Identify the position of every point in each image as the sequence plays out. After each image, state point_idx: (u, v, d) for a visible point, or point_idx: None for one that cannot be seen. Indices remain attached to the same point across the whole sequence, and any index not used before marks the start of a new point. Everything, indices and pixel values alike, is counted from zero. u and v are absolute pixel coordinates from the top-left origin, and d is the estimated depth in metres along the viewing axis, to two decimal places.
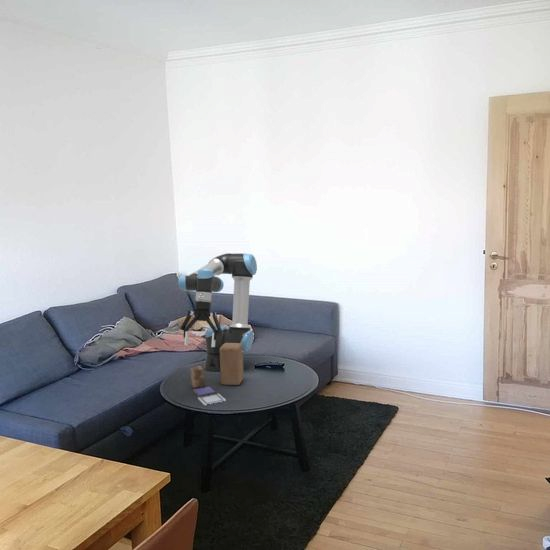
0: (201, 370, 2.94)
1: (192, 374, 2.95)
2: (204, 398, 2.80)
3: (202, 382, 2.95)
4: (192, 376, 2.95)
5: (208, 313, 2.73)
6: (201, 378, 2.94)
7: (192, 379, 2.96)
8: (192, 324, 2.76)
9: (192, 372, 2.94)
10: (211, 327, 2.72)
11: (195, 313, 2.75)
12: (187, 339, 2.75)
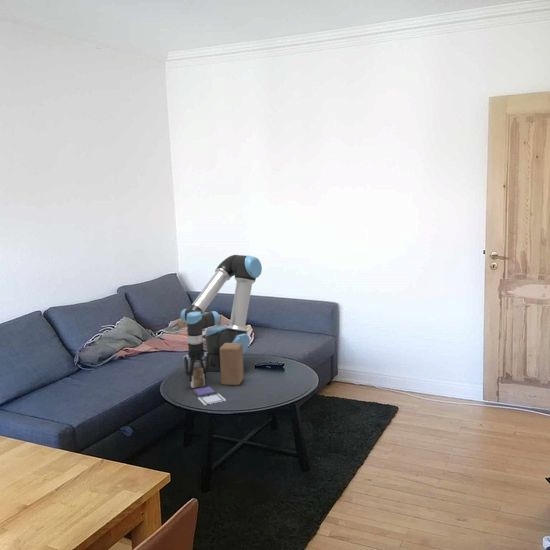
0: (201, 370, 2.94)
1: (192, 374, 2.95)
2: (204, 398, 2.80)
3: (202, 382, 2.95)
4: None
5: (203, 353, 2.95)
6: (201, 378, 2.94)
7: None
8: None
9: (192, 372, 2.94)
10: (202, 367, 2.95)
11: (191, 355, 2.92)
12: None
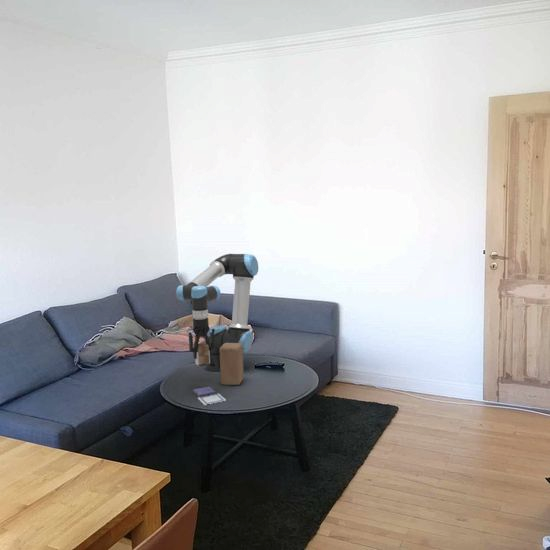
0: (206, 347, 2.82)
1: (197, 351, 2.83)
2: (204, 398, 2.80)
3: (207, 359, 2.84)
4: None
5: (208, 328, 2.83)
6: (206, 355, 2.83)
7: None
8: (197, 342, 2.83)
9: (197, 349, 2.83)
10: None
11: (196, 331, 2.80)
12: None
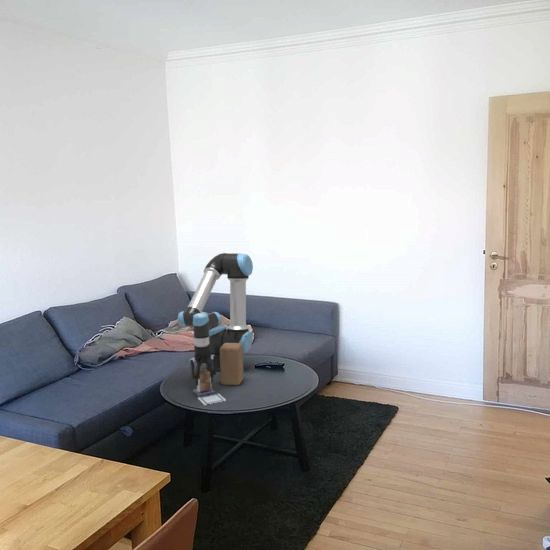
0: (208, 373, 2.85)
1: (198, 377, 2.86)
2: (204, 398, 2.80)
3: (209, 386, 2.86)
4: None
5: (210, 355, 2.86)
6: (207, 382, 2.85)
7: None
8: None
9: None
10: (209, 370, 2.86)
11: (197, 358, 2.83)
12: None
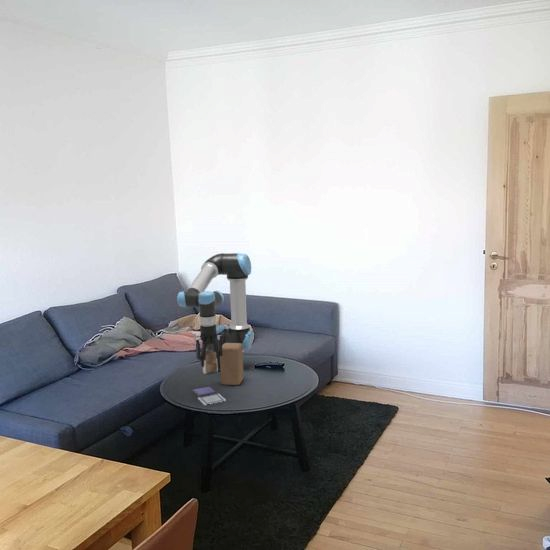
0: (214, 354, 2.73)
1: (204, 358, 2.74)
2: (204, 398, 2.80)
3: (215, 367, 2.74)
4: None
5: (216, 335, 2.74)
6: (214, 363, 2.74)
7: None
8: None
9: None
10: (215, 351, 2.75)
11: (203, 338, 2.71)
12: None
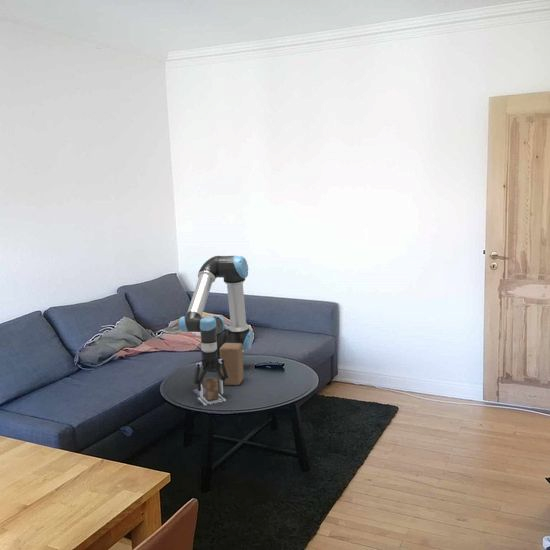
0: (215, 381, 2.76)
1: (206, 386, 2.77)
2: (204, 398, 2.80)
3: (216, 394, 2.77)
4: (206, 388, 2.77)
5: (217, 361, 2.76)
6: (215, 390, 2.76)
7: (205, 391, 2.78)
8: None
9: (206, 383, 2.76)
10: (220, 375, 2.78)
11: (204, 363, 2.73)
12: None
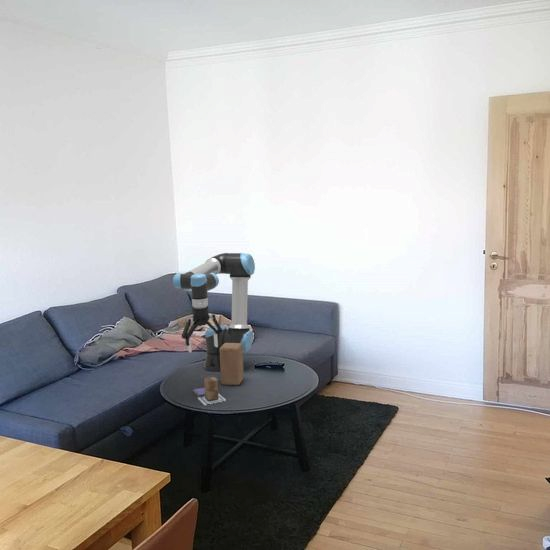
0: (215, 381, 2.76)
1: (206, 386, 2.77)
2: (204, 398, 2.80)
3: (216, 394, 2.77)
4: (206, 388, 2.77)
5: (208, 317, 2.77)
6: (215, 390, 2.76)
7: (205, 391, 2.78)
8: None
9: (206, 383, 2.76)
10: (213, 329, 2.80)
11: (196, 320, 2.74)
12: None
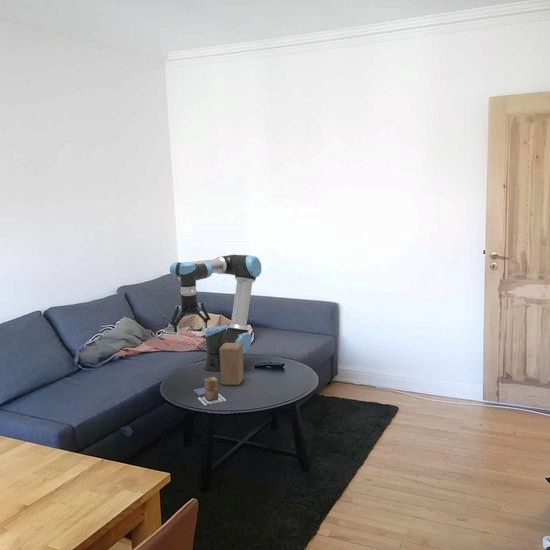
0: (215, 381, 2.76)
1: (206, 386, 2.77)
2: (204, 398, 2.80)
3: (216, 394, 2.77)
4: (206, 388, 2.77)
5: (196, 305, 2.83)
6: (215, 390, 2.76)
7: (205, 391, 2.78)
8: None
9: (206, 383, 2.76)
10: (201, 317, 2.85)
11: (184, 307, 2.80)
12: None
